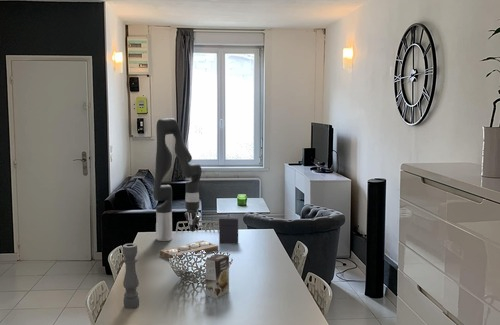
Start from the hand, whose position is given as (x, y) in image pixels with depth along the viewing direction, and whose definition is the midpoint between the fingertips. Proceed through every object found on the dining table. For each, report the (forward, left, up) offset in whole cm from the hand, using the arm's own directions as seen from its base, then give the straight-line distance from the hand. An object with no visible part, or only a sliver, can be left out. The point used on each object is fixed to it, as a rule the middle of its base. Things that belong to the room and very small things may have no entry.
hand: (192, 231), depth 269 cm
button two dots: (0, -13, -11) cm, 17 cm away
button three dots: (0, +1, -10) cm, 10 cm away
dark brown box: (-1, +27, -12) cm, 29 cm away
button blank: (0, -6, -10) cm, 12 cm away
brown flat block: (0, -2, -12) cm, 12 cm away
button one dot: (0, +8, -11) cm, 14 cm away
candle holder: (+43, -61, -12) cm, 76 cm away
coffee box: (+56, -27, -12) cm, 64 cm away
